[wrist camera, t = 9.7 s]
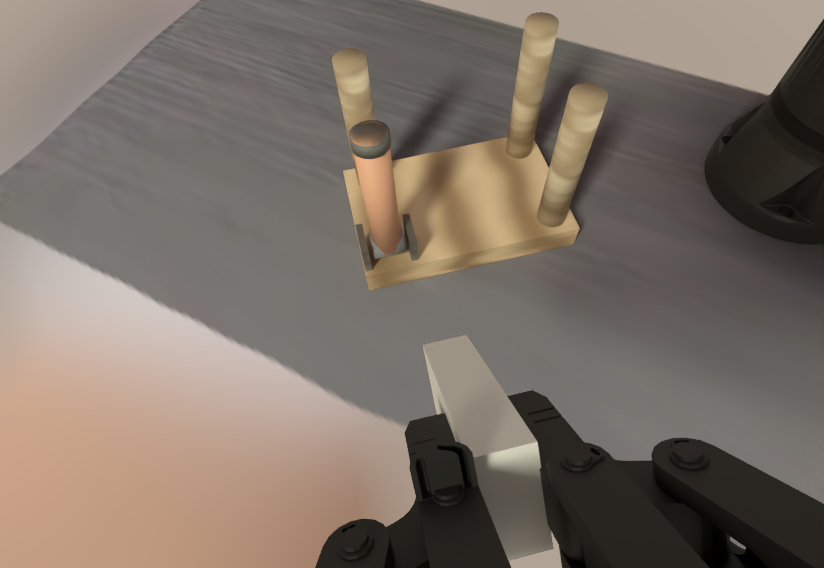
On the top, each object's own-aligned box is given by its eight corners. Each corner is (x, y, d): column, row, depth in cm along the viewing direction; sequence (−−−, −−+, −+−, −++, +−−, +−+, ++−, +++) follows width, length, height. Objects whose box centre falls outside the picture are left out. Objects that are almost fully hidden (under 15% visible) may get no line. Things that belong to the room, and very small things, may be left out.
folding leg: (400, 235, 45) (385, 116, 34) (407, 259, 44) (393, 142, 33) (370, 242, 45) (345, 124, 34) (376, 266, 43) (352, 151, 32)
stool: (526, 149, 54) (556, 3, 40) (573, 244, 47) (628, 108, 33) (347, 187, 52) (313, 49, 38) (369, 290, 46) (338, 167, 32)
